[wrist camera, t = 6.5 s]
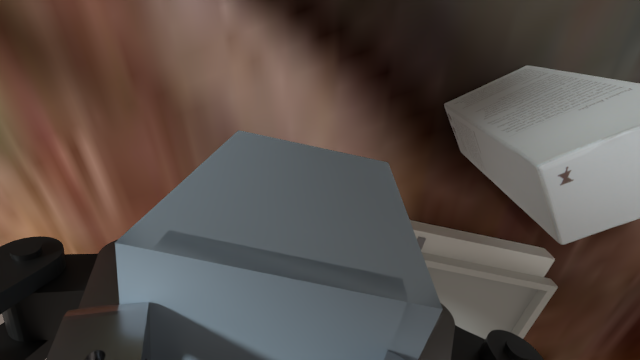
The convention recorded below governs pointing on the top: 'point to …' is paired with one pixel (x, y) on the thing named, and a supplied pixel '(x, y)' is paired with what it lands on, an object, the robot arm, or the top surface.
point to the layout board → (486, 278)
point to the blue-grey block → (280, 259)
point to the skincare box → (556, 146)
